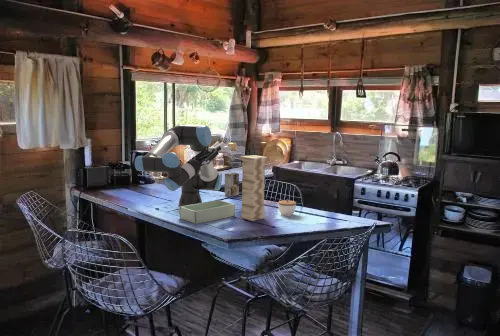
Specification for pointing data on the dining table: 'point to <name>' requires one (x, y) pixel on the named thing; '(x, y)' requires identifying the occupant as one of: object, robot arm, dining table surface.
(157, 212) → the dining table surface
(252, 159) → the stand
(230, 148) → the strut
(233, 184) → the coffee box
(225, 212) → the bin
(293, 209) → the lidded jar
